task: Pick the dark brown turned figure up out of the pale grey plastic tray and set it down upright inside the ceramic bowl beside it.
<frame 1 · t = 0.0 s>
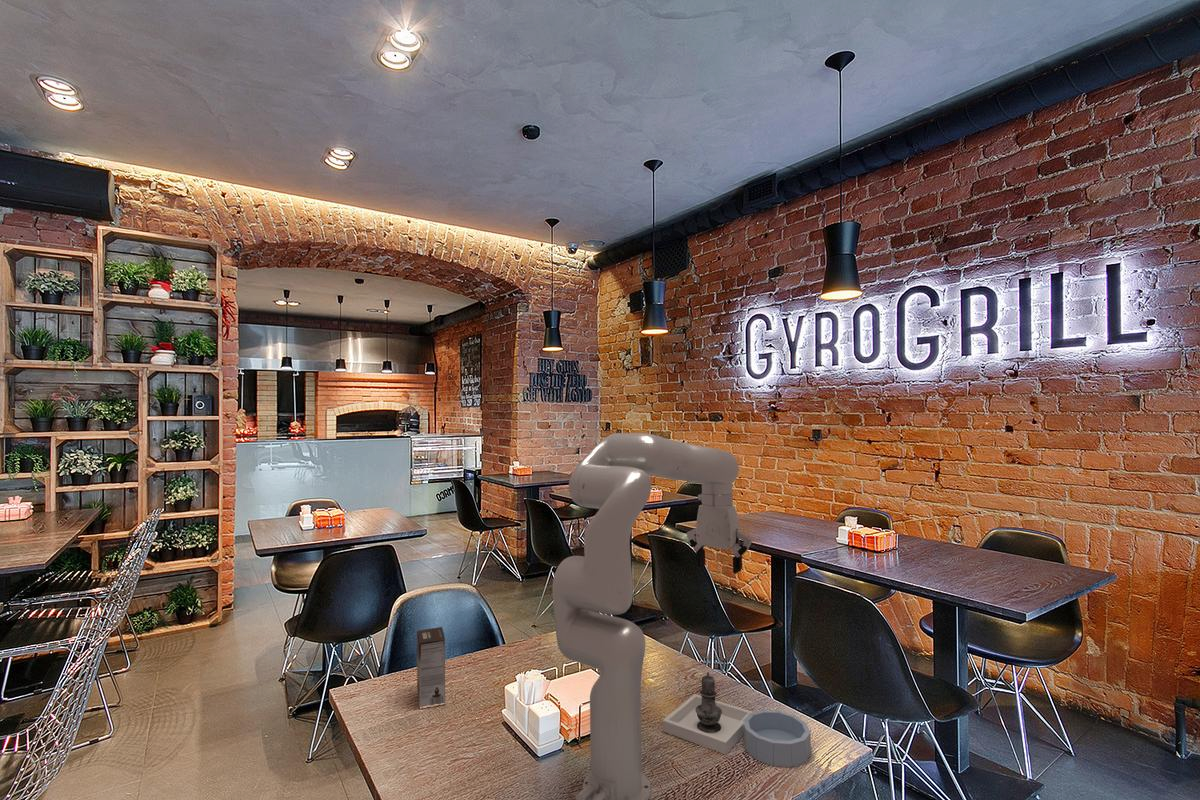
hand: (718, 569, 144), 31 cm above the table, tool pointing down, fingers open, 9 cm apart
bowl: (776, 747, 120), on the table
coffee box: (431, 700, 143), on the table
parts tray: (709, 727, 128), on the table
dark brown turned figure: (709, 727, 128), resting on parts tray
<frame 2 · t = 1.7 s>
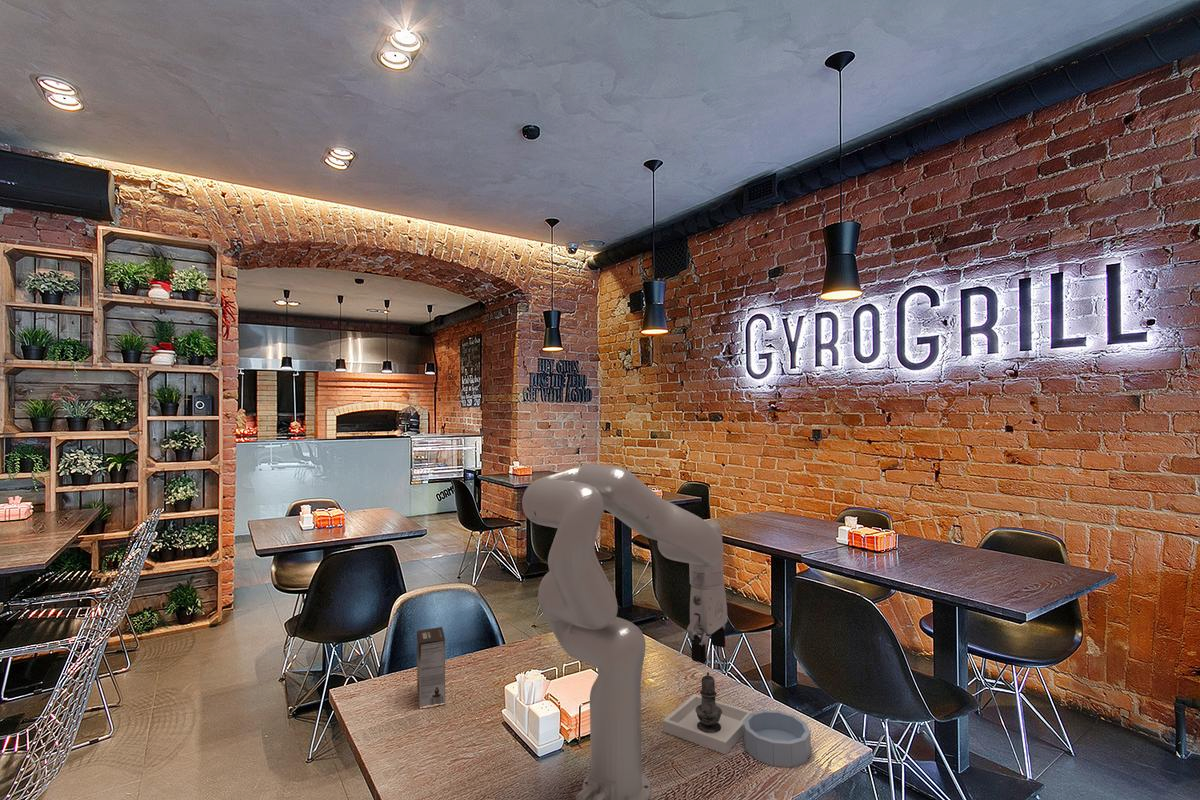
hand: (709, 653, 129), 16 cm above the table, tool pointing down, fingers open, 9 cm apart
nothing on the table moved.
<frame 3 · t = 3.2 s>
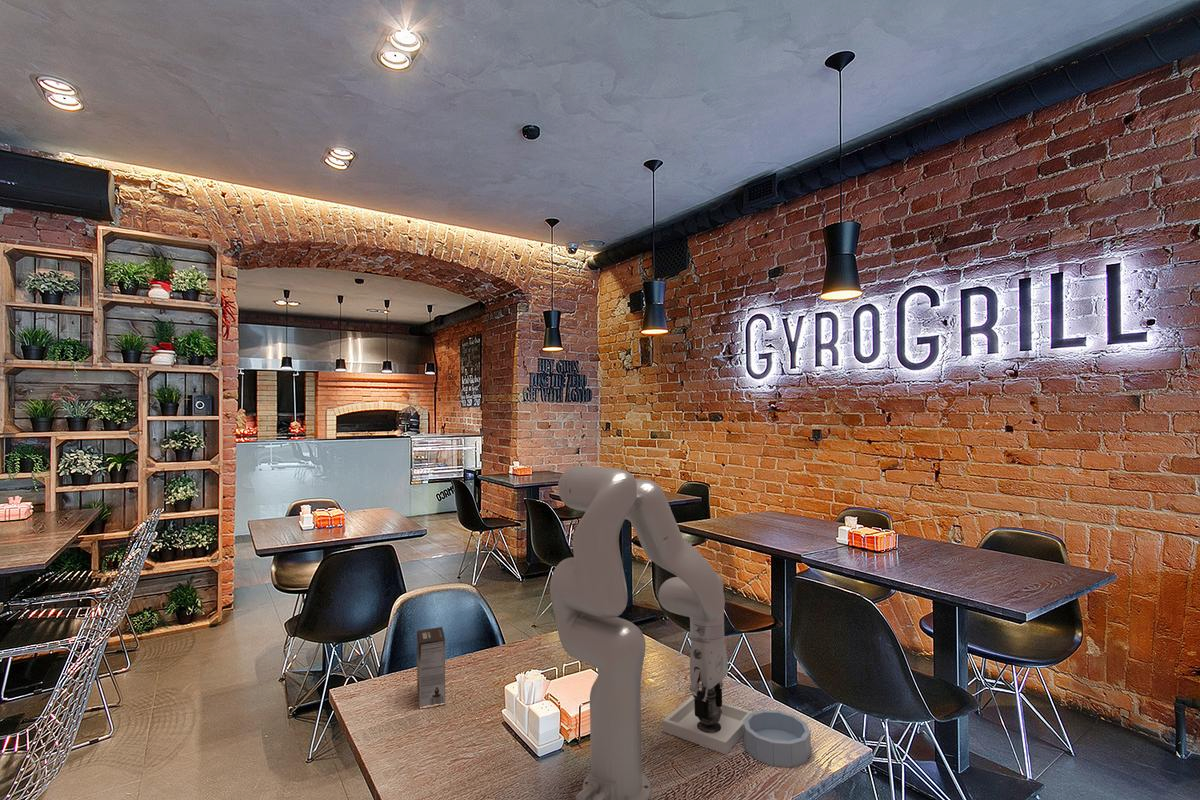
hand: (708, 710, 128), 4 cm above the table, tool pointing down, fingers closed on dark brown turned figure, 5 cm apart
dark brown turned figure: (709, 727, 128), resting on parts tray, touching gripper
everything else where it was.
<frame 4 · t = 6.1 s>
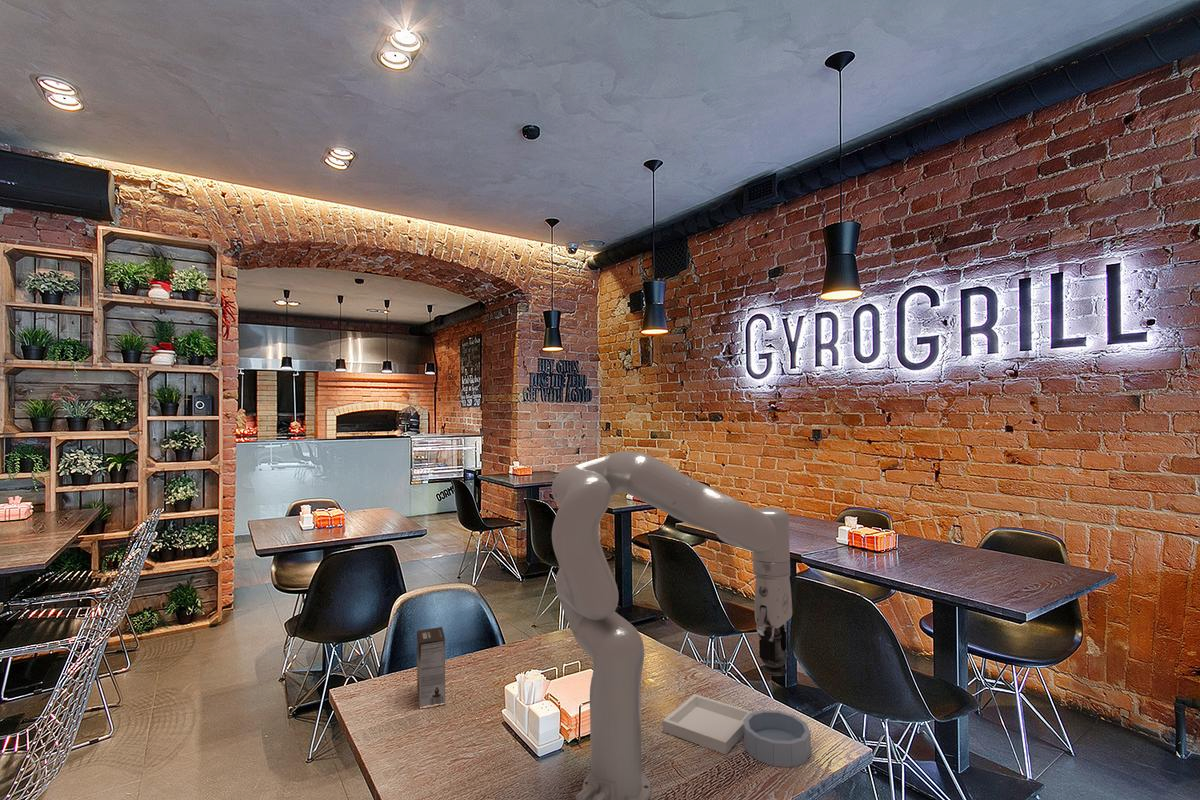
hand: (773, 653, 121), 19 cm above the table, tool pointing down, fingers closed on dark brown turned figure, 5 cm apart
dark brown turned figure: (773, 671, 121), point 16 cm above the table, touching gripper
everything else where it was.
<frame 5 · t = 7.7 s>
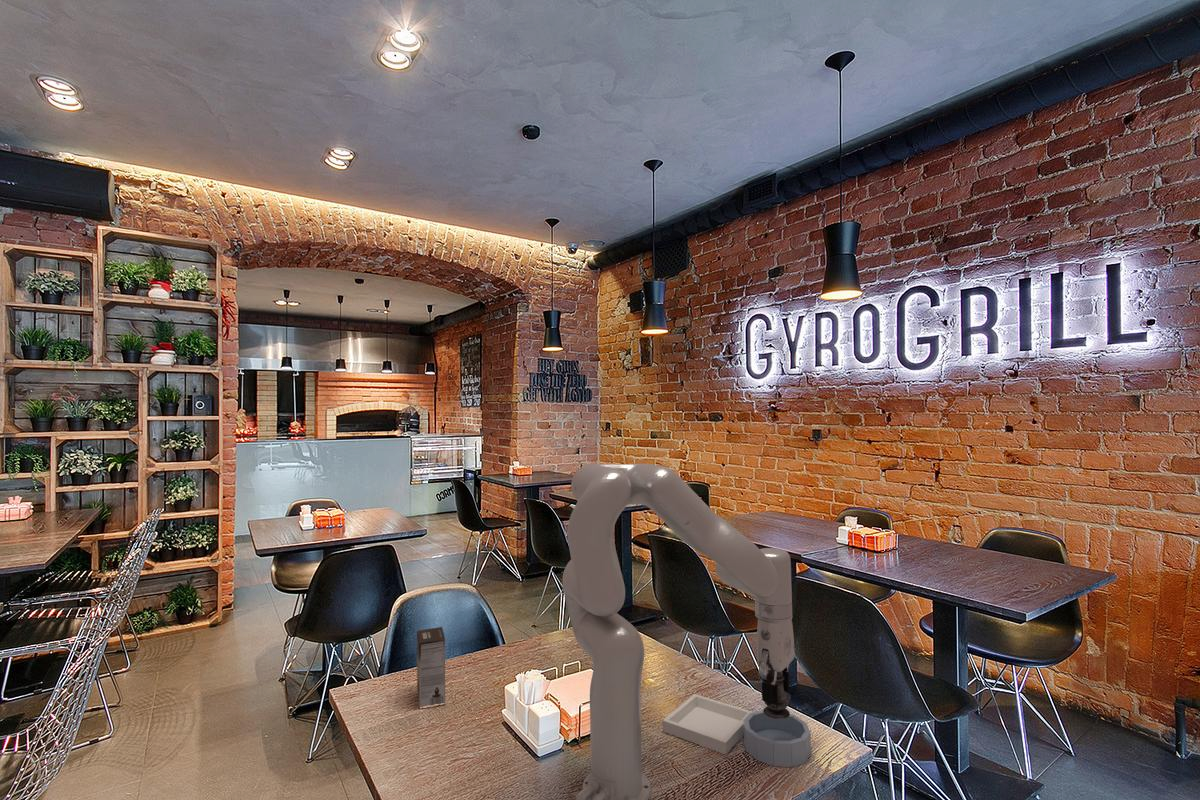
hand: (776, 695, 120), 11 cm above the table, tool pointing down, fingers closed on dark brown turned figure, 5 cm apart
dark brown turned figure: (776, 713, 120), point 7 cm above the table, touching gripper
everything else where it was.
when the fingers open (6 cm above the table, at t = 9.1 s): dark brown turned figure drops 1 cm, resting on bowl.
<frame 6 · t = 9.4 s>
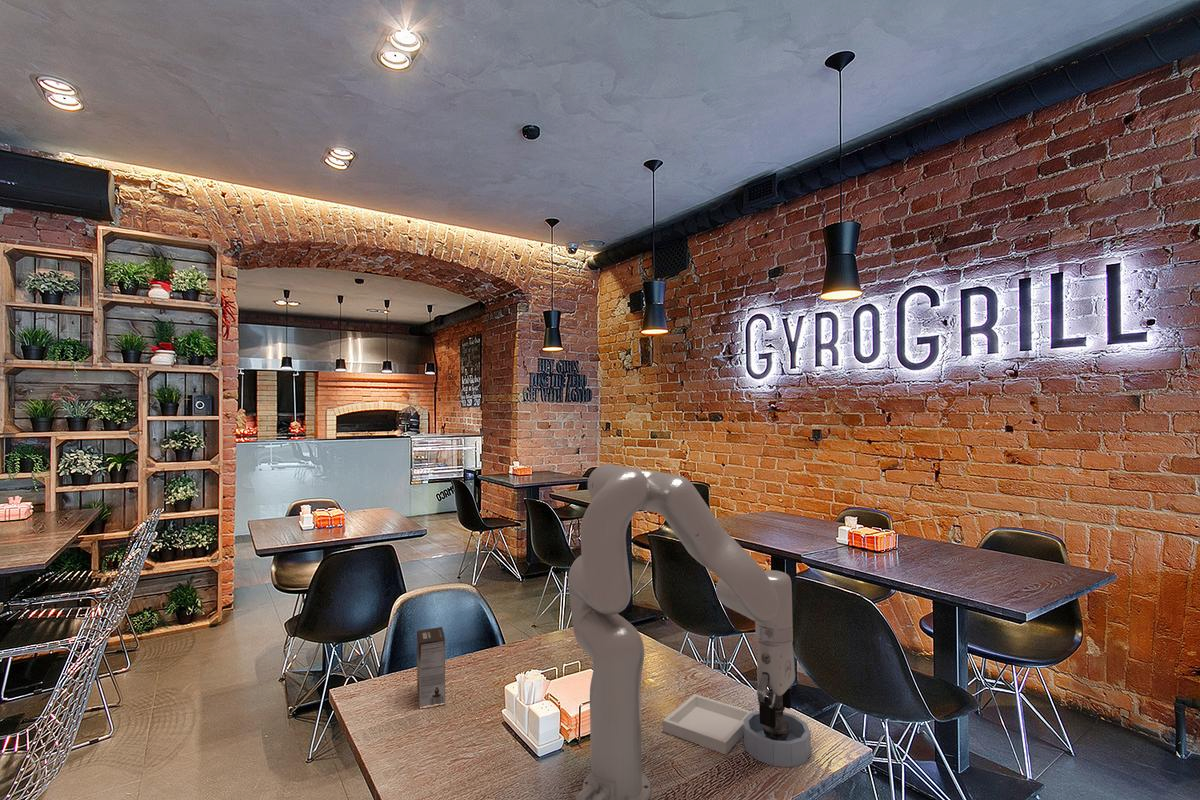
hand: (775, 715, 120), 7 cm above the table, tool pointing down, fingers open, 8 cm apart
dark brown turned figure: (775, 743, 120), point 1 cm above the table, touching bowl
everything else where it was.
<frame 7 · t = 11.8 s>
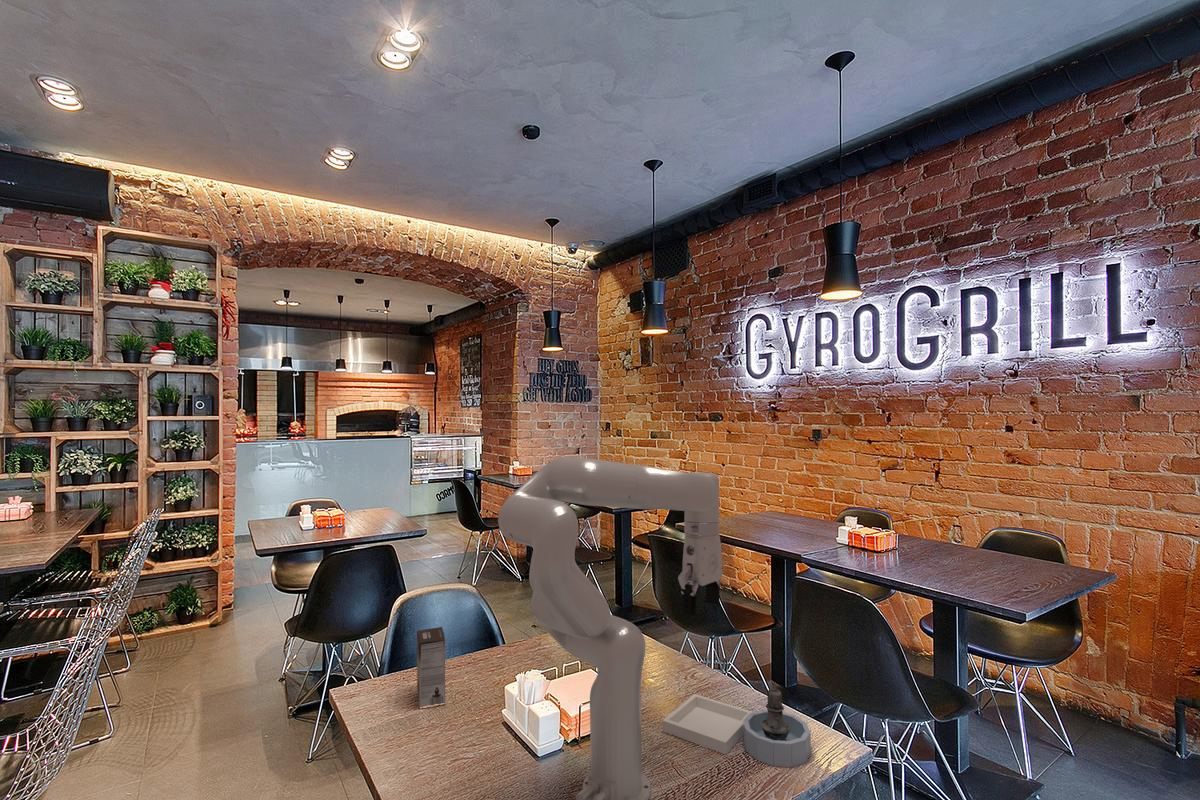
hand: (701, 608, 125), 28 cm above the table, tool pointing down, fingers open, 9 cm apart
nothing on the table moved.
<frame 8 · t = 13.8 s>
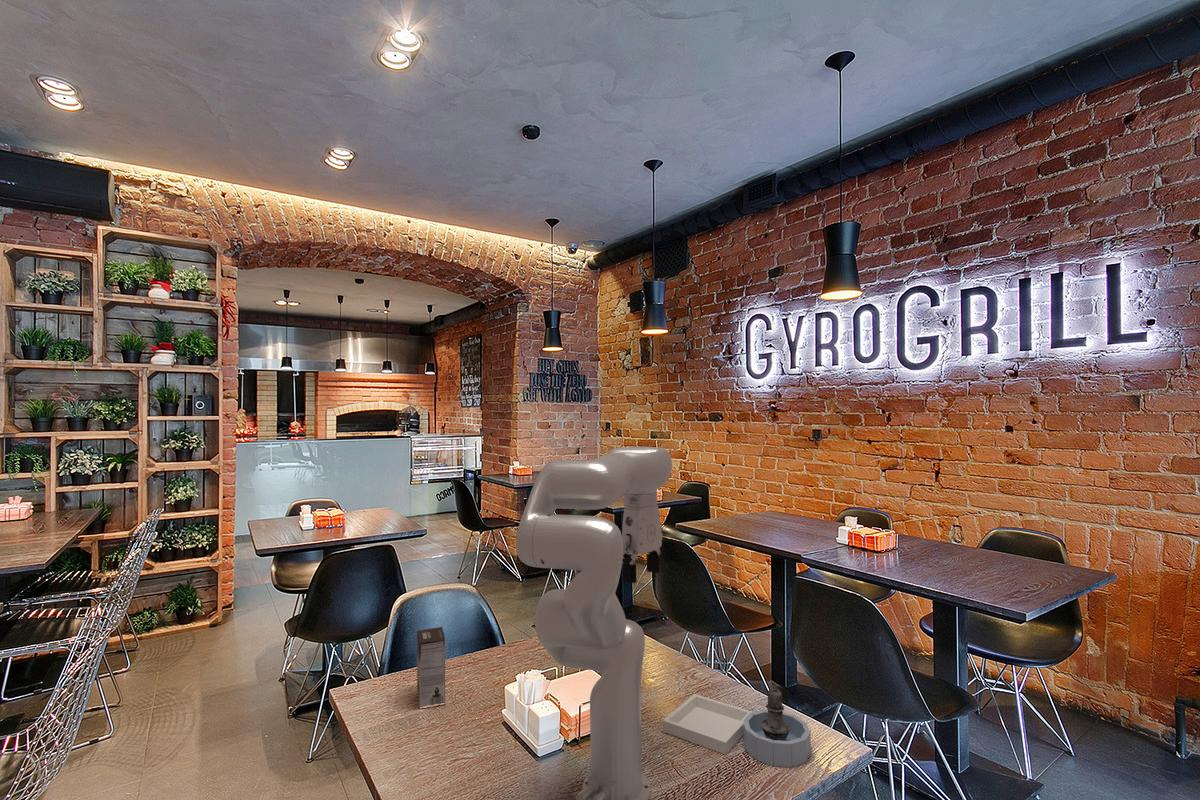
hand: (641, 576, 130), 33 cm above the table, tool pointing down, fingers open, 9 cm apart
nothing on the table moved.
at the end: dark brown turned figure 0.2 cm off-centre on the bowl, point 0.8 cm above the bowl's base; dark brown turned figure tilted 0°; the gripper is holding nothing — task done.
